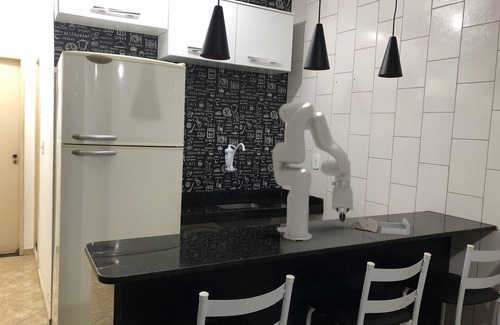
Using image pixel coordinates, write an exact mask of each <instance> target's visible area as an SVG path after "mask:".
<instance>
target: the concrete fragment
mask: <svg viewBox="0 0 500 325" xmlns="http://www.w3.org/2000/svg"><path fill="white" fill-rule="evenodd" d="M379 222H380V221H378V220H374V219H373V218H369V217H362V216H358V217H356V218H355V219H354V220H353V221H352V222H351V225H350V226H351V228H352V229H358V230H363V231H369V232H373V233H378V231H379V228H380V227H379Z"/></svg>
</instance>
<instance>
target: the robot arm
mask: <svg viewBox="0 0 500 325" xmlns="http://www.w3.org/2000/svg"><path fill="white" fill-rule="evenodd" d="M278 114H279V118H280V120H282V121H283V122H284V123H285V124H286V126H285V128H284V142H283V141H282V142H279V143H277V144H276V145H275V146H274V147H273V149H272V156H271V157H272V165H273V175H274V176H273V177H274V180H275V183H276V184H277V185H279V186H280V187H285V188H290V190H289V191H288V194H287V199H286V203H287V204H286V206H287V207H286V208H287V209H286V226H284V227H278V226H277V228H276V230H277V232H278V233H283V235H282V236H283V238H284V239H285V238H286V240H289V239H290V241H296V240H303V241H308V240H309V241H310V240H311V239H312V237H313V235H312V234H311V233H309V208H310V207H309V205H310V204H309V199H310V189H311V183H312V173H311V172H310V170H309V169H308V168H305V167H303V166H295V165H300V164H302V163H304V162H305V161H306V157H307V154H306V153H307V152H306V143H305V131H306V130H308V131H309V132H310V135H311V137H312V140H313V144H314V145H315V147H316V148H317V149H319V150H321V151H322V152H325V153H327V154H328V155H330V156H332V158H333V159H334V160H332V159H331V160H330V159H328V160H324V161H323V162H322V163H321V165H320V171H321V173H322V174H323V175H324V176H325V175H326V176H330V177H334V181H332V182H331V185H332V186H334V187H332V192H331V193H332V194H331V210H332V211H333V210H335V211H336V213H338V214H339V215H338V216H339V217H338V219H339V221H340V222H343V223H344V222H345V221H346V214H347V213H348V212H349V211H353V210H354V193H353V188H352V187H351V161H350V160H349V157H348V154H347V153H346V151H345V149H343V148H342V147H341V146H340V145H339V144H338V143H337V142H336V141H335V140H334V138H333V136H332V133H331V130H330V127H329V125H328V121H327V118H326V116H325V114H324V113H323V112H321V111H318V110H317V111H315V108H314V105H313V103H311V102H307V101H298V102H291V103H290V102H288V103H284V104H283V105H281V106H280V108H279V110H278ZM290 165H292V166H290ZM293 165H294V166H293ZM342 209H343V212H342Z"/></svg>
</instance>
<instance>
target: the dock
mask: <svg viewBox="0 0 500 325" xmlns="http://www.w3.org/2000/svg"><path fill="white" fill-rule="evenodd" d="M378 222H379V228H381V229H380V230H381V232H380V233H381V234H384V235H385V234H387V235H401V236H402V235H403V236H410V235H411V224H410V222H409V221H408V219H407V218H405V217H404V218H402V222H396V223H395V222H387V221H383V222H382V221H378Z"/></svg>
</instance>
